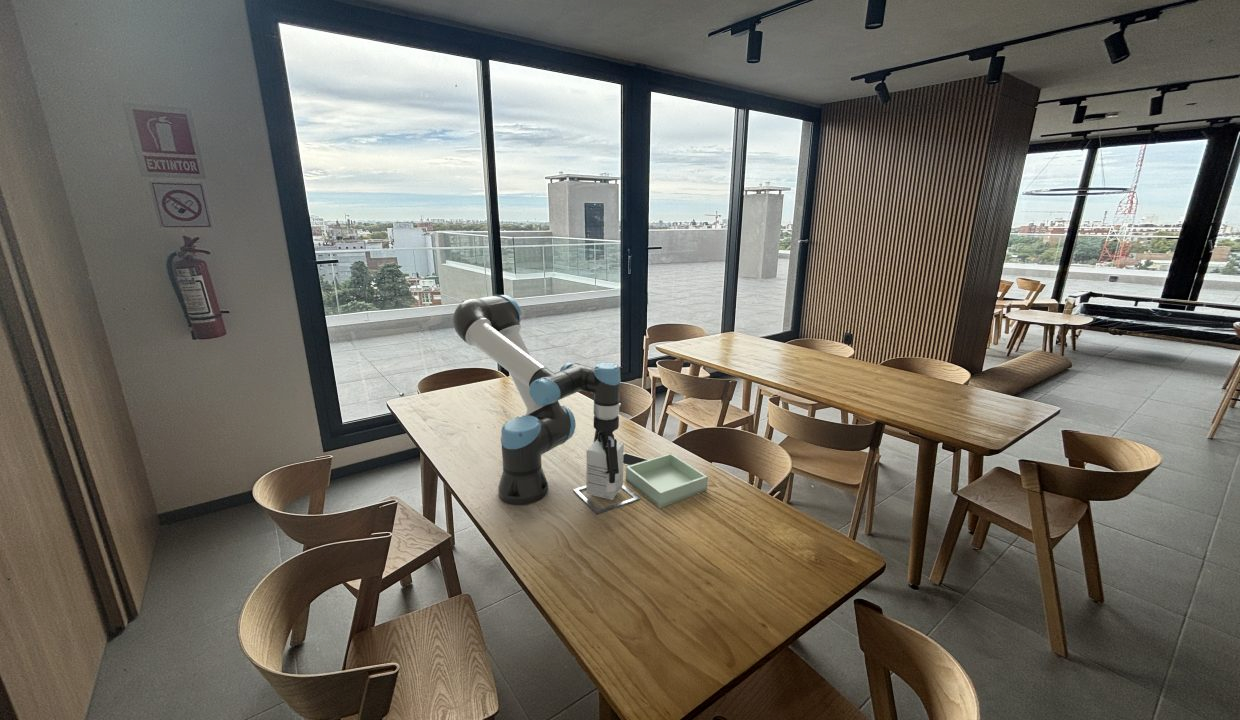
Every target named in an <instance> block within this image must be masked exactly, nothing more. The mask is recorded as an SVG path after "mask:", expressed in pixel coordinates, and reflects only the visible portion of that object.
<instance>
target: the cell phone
mask: <svg viewBox="0 0 1240 720" xmlns="http://www.w3.org/2000/svg"><path fill="white" fill-rule="evenodd" d="M647 460H650V459H648V458H646V457H645V458H644V457H642V456H638V455H634V454H631V453H628V452H624V454H623V466H625V467H627V466H630V465H633V464H637V463H640V462H643V461H647Z"/></svg>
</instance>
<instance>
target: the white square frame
mask: <svg viewBox="0 0 1240 720" xmlns="http://www.w3.org/2000/svg"><path fill="white" fill-rule="evenodd" d="M585 490H586V485H583V486H579V487H576V488H573V492H574V494H576V495H577V496H578V497H579V498H580V499H581V501H583V502H584V504H585V505H587V506H588V507H589V508H590V509H591V510H592V511H593V513H595V515H600V514H602V513H605V512H608V511H612V510H614V509H617V508H620V507H624V506H625V505H628V504H629V505H630V504H631V503H634V502H635V503H636V502H637V501H640V497H639V496H637V495H636V494H635V493H634V492H633V491H631V490H630V489H629V488H628V487H626V485H624V484H623V486H622V487H621V490H622V491H624V492H625V493H626V494H627V495H629V496H630V497H631V498H628V499H626V500H623V501H620V502H617V503H614V504H612V505H609V506H605V507H602V508H600V509H598V508H597V506H595V505H594V504H593V502H592V501H590V500H589V499H588V498H587V497H586V496H585V495H584V494H583V493H582V492H581V491H585Z"/></svg>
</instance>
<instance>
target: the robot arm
mask: <svg viewBox="0 0 1240 720" xmlns="http://www.w3.org/2000/svg"><path fill="white" fill-rule="evenodd" d="M452 317H453V318H452V322H453V328H454V330H455V332H456V334H457V335H458V336H459V338H460V339H462V341H463V342H465V343H466V344H467V345H469V346H471V347H476V348H478V349H479V350H481V351H482V352H483V353H484V354H486V356H488V357H490V358H491V359H492V360H493V361H494V362H496V363H497V364H498V365H499V366H501V367H502V368H504V370H506V371H507V372H508V373H509V375H510V377H511V379H512V380H513V383H514V385H515V387H516V390H517V391H518V393H519V395H520V397H521V399H522V401H523V403H524V405H525V407H526V412H525V415H521V416H515V417H513V418H510V419H509V420H506V422H505V423H504V424H503V426H502V427H501V435H500V442H501V443H500V444H501V455H502V473H501V476H500V480H499V483H498V488H497V489H498V490H497V491H498V497H499V499H500V500H501V501H503V502H505V504H510V505H516V506H523V505H528V504H529V505H530V504H534V503H536V502H538V501H540V500H542V499H544V498H545V497H546V496H547V494H548V491H549V484H548V480H547V477H546V475H545V473H544V470H543V468H542V456H543V454H545V453H548V452H549V451H551V450H553V449H555V448H556V447H558V446H561V445H563V444H565V443H567V441H569V440H570V439H571V438H572V437H573V436H574V434H575V430H576V426H577V425H576V418H575V415H574V413H573V412H572V410H571V409H570V408H568V407H567V406H566V405H563V404H560V402H559V401H560V400H563V399H564V398H566V397H569V396H571V395H573V394H576V393H578V392H585V393H589V394H593V428H594V429H595V431H594V438H593V443H594V442H595V441H596V440H597V439H598V441H599V442H602V447H603V450H604V451H605V453H606V463H607V470H608V471H606V472H605V473H606V492H611V491H615V489H616V474H618V473H619V468H618V457H617V442H618V441H617V439H616V438H615V435H614V431H617V430H618V429H619V427H620V416H619V415H620V407H622V406H621V405H622V404H621V402H620V394H621V393H620V391H621V383H622V379H621V367H620V366H619V365H618V364H616V363H613V362H599V363H597V364H595V366H594V367H592V366H589V365H588V366H587V365H584V364H581V363H578V362H571V361H570V362H565V363H564V364H563V365H562V366H561V367H560V369H559V371H557V372H553V371H551V370H550V369H549V368H547V367H546V366H545V365H543V364H542V363H541V362H540V361H538V360H537V359H535V358H534V357H533V356H531V354H530V352H529V351H528V348H527V346H526V344H525V342H524V340H523V338H522V336H521V333H520V331H521V328H522V326H521V321H522V310H521V307H520V305H519V304H518V302H517V301H516V300H515V299H514V298H513V297H511V296H510V295H506V294H494V295H491V296H490V295H489V296H484V297H478V298H470V299H467V300H464V301H463V302H460V303H459V305H457V307H456V308H455V310H454V312H453V316H452ZM605 446H607V447H605Z"/></svg>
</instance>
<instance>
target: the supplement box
mask: <svg viewBox="0 0 1240 720" xmlns="http://www.w3.org/2000/svg"><path fill="white" fill-rule="evenodd" d="M624 444H625V443H624V442H618V441H617V457H618V468H619V473H618V474H616V489H615V491H611V492H606V473H605V472H606V471H608V470H607V463H606V453H605V451H604V450H603V447H602V442H599V441H598V439H597V440H596V441H595V442H594V441H593V443H592V444H591V445H590V446H589V447H588V448H587V449H586V475H585V476H586V483H585V484H586V485H585V486H586V489H585V490H586V494H587V495H590V496H595V497H599V498H604V499H608V500H614V498H616V496H617V495H618V493H619V492H620V490H622V488H621V487H622V486H623V485H624V465H623V454H624V453H625V452H624V450H625V449H624V447H625V445H624ZM605 447H607V446H605Z"/></svg>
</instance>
